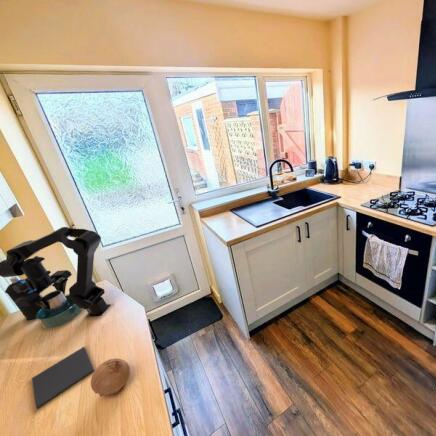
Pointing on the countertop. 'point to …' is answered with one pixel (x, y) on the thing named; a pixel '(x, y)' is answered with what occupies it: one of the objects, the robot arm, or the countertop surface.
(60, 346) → the countertop surface
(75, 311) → the teal bowl
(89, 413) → the countertop surface
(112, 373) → the brown coconut
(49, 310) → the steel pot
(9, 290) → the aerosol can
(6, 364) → the countertop surface
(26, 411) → the countertop surface
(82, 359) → the trivet
